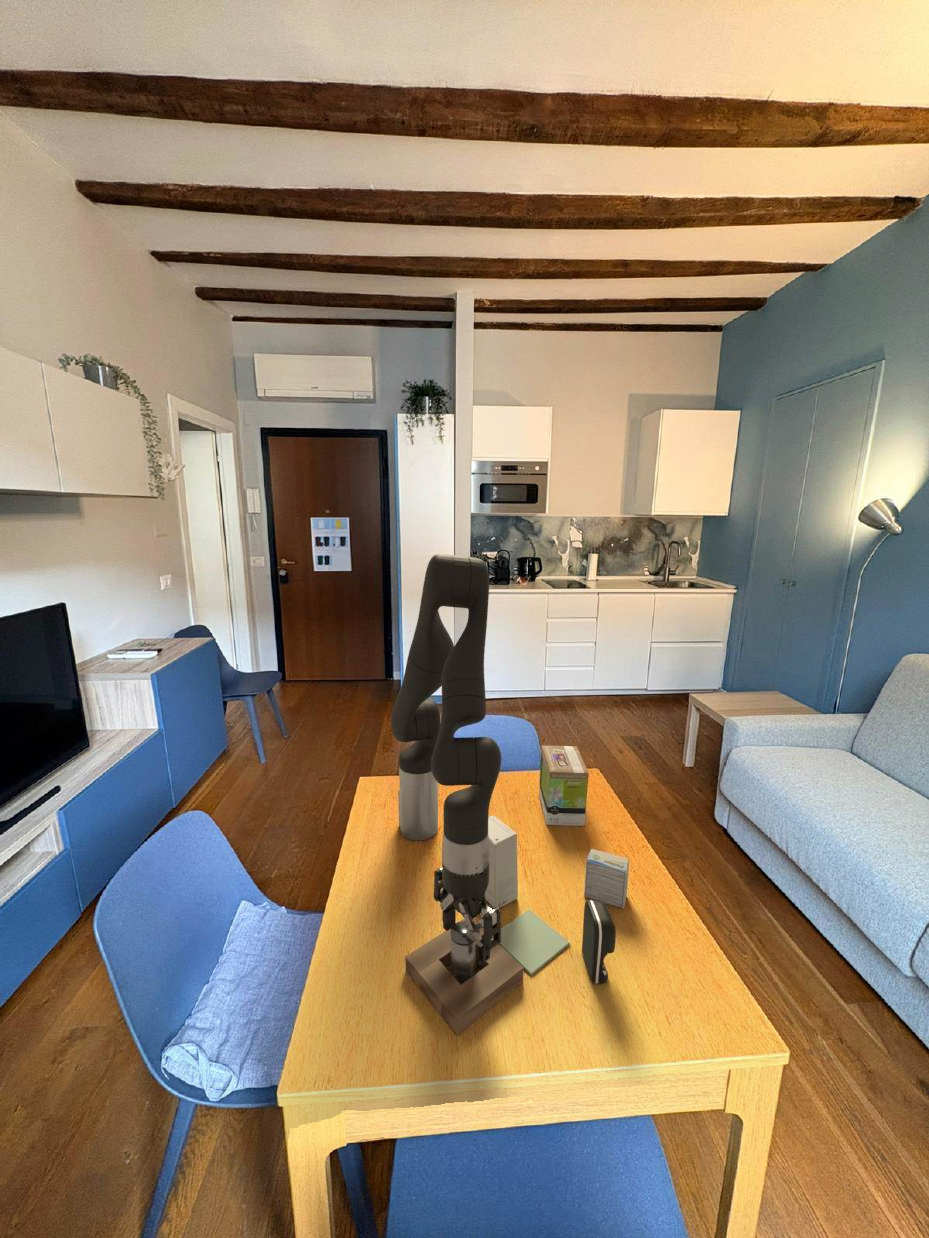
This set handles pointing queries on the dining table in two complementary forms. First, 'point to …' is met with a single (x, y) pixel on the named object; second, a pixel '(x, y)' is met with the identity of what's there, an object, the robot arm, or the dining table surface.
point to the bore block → (473, 995)
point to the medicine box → (606, 878)
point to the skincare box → (501, 864)
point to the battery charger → (597, 939)
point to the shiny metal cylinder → (463, 952)
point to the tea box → (563, 785)
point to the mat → (531, 941)
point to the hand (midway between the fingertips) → (465, 943)
